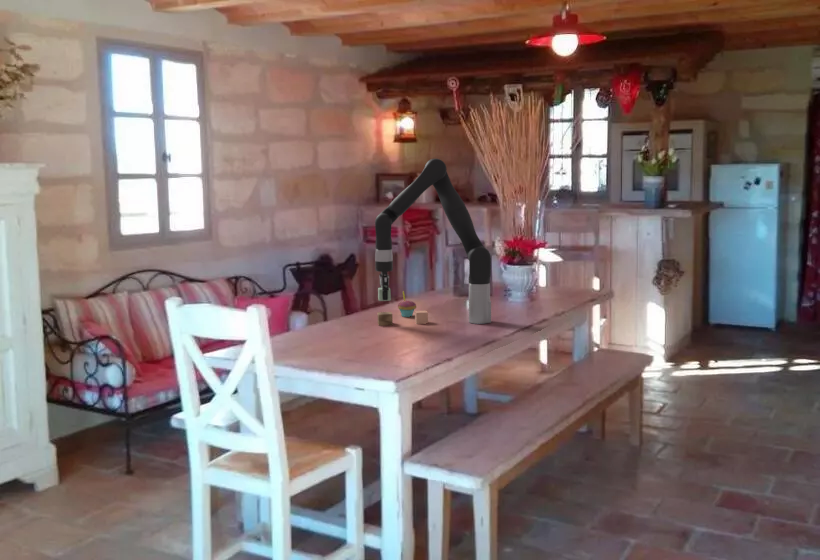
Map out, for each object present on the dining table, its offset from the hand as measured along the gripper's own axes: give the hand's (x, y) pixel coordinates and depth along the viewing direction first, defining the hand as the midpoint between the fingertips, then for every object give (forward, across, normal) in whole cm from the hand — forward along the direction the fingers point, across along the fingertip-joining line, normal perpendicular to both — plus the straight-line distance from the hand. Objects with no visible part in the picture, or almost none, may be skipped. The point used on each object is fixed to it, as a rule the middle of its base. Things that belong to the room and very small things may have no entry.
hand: (384, 298), depth 374 cm
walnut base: (+11, 0, 0) cm, 11 cm away
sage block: (0, 0, 0) cm, 0 cm away
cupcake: (+11, +18, -12) cm, 24 cm away
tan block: (+11, 0, -16) cm, 20 cm away
